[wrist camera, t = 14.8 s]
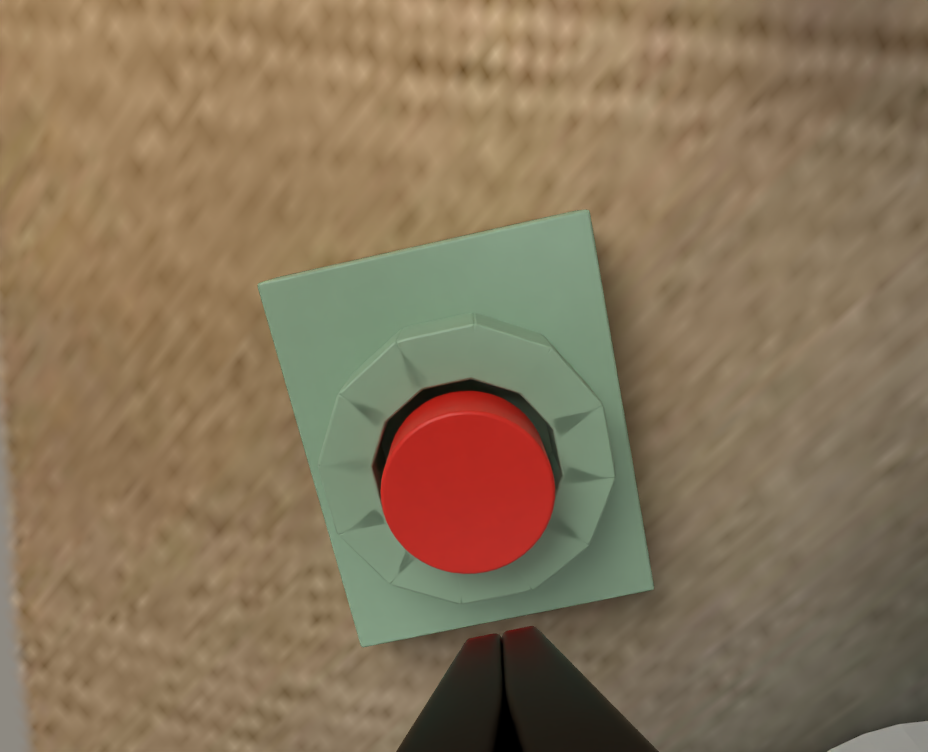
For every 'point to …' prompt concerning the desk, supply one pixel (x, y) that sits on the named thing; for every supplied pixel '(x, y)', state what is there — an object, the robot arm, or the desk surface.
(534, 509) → the button
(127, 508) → the desk surface
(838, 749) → the flag stand
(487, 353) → the button block
